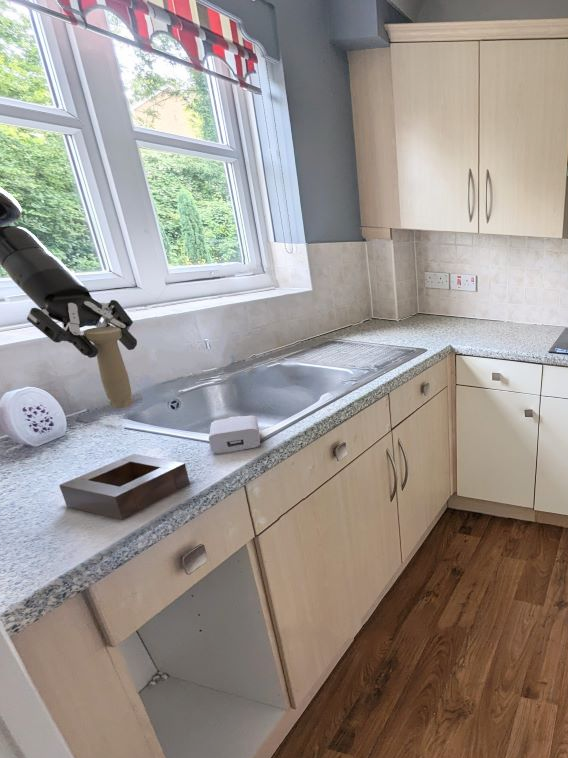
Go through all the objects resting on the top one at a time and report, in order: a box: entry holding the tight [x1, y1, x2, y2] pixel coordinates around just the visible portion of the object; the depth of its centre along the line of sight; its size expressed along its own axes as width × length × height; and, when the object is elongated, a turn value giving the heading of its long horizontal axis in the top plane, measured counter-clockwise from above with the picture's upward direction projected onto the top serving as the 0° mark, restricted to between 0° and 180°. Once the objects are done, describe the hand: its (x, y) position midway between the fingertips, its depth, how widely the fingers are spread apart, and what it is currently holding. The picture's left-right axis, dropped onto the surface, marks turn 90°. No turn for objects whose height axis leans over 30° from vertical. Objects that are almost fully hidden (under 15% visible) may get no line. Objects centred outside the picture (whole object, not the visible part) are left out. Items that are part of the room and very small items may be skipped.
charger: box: [208, 415, 261, 454], centre depth 107 cm, size 5×9×15 cm
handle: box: [83, 326, 134, 409], centre depth 86 cm, size 5×6×15 cm
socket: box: [58, 453, 191, 521], centre depth 83 cm, size 12×12×4 cm
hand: (114, 350), depth 84 cm, fingers closed on handle, 6 cm apart
